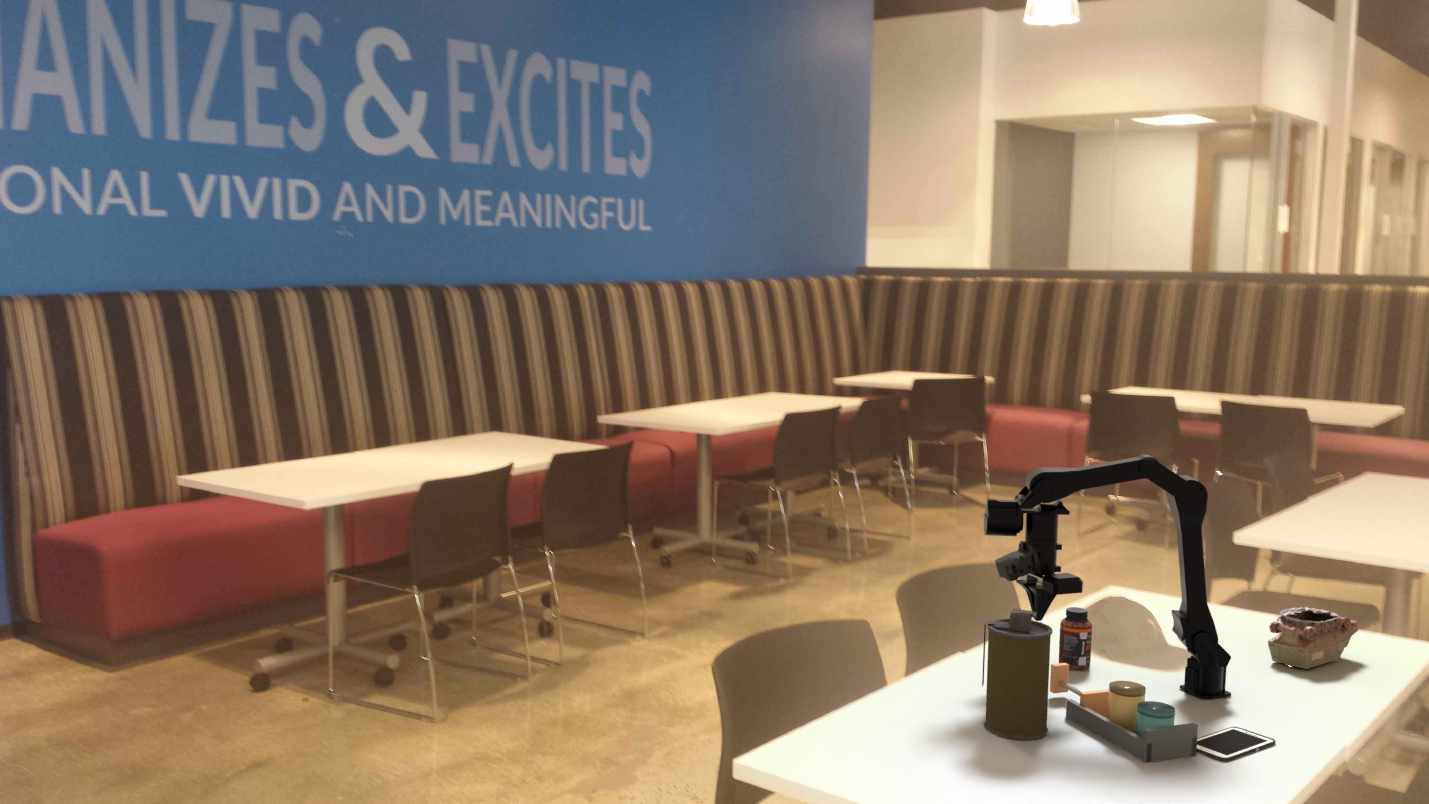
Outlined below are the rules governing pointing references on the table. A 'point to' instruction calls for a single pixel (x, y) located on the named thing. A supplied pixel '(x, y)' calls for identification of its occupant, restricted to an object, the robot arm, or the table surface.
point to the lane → (1150, 747)
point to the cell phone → (1232, 743)
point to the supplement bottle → (1075, 639)
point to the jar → (1153, 715)
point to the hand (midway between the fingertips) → (1038, 620)
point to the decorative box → (1309, 636)
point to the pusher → (1078, 690)
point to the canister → (1017, 676)
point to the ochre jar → (1125, 703)
